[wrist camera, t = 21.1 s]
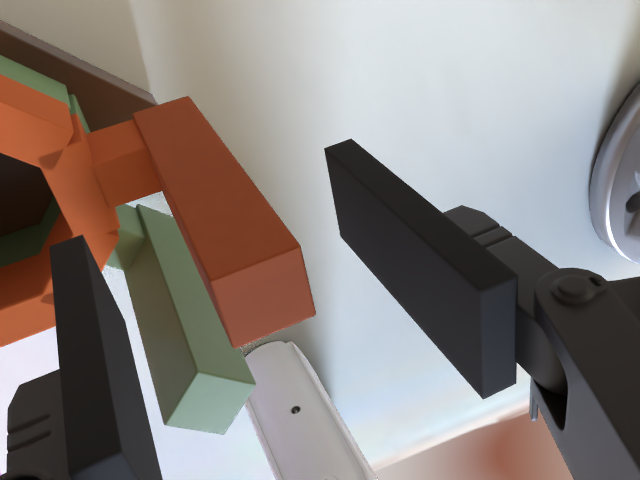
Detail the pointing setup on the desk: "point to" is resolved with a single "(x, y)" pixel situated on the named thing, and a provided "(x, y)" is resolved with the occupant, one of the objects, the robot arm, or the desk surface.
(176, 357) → the sage ring
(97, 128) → the peg stand
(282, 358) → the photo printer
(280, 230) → the rust ring
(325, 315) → the desk surface
